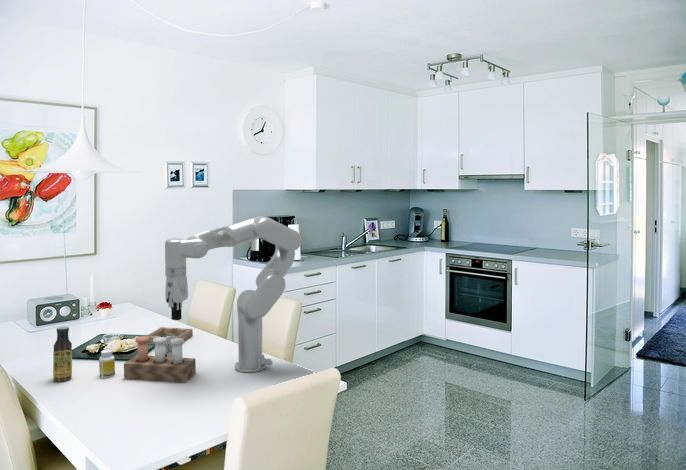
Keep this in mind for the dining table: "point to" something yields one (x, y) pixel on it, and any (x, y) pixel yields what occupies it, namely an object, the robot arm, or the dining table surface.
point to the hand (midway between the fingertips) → (176, 319)
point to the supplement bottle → (106, 364)
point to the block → (160, 370)
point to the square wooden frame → (171, 333)
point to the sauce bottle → (62, 356)
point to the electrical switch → (168, 346)
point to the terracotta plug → (142, 348)
